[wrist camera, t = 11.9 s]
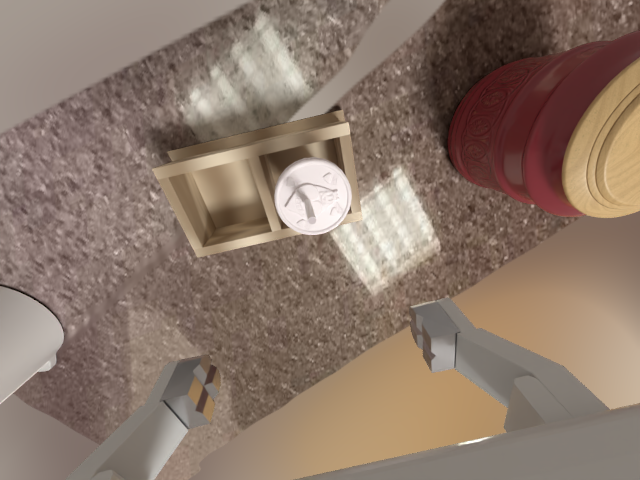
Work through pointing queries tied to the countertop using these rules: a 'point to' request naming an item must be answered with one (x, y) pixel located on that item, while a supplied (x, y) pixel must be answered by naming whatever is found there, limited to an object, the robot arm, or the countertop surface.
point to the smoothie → (312, 196)
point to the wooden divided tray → (249, 181)
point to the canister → (557, 130)
